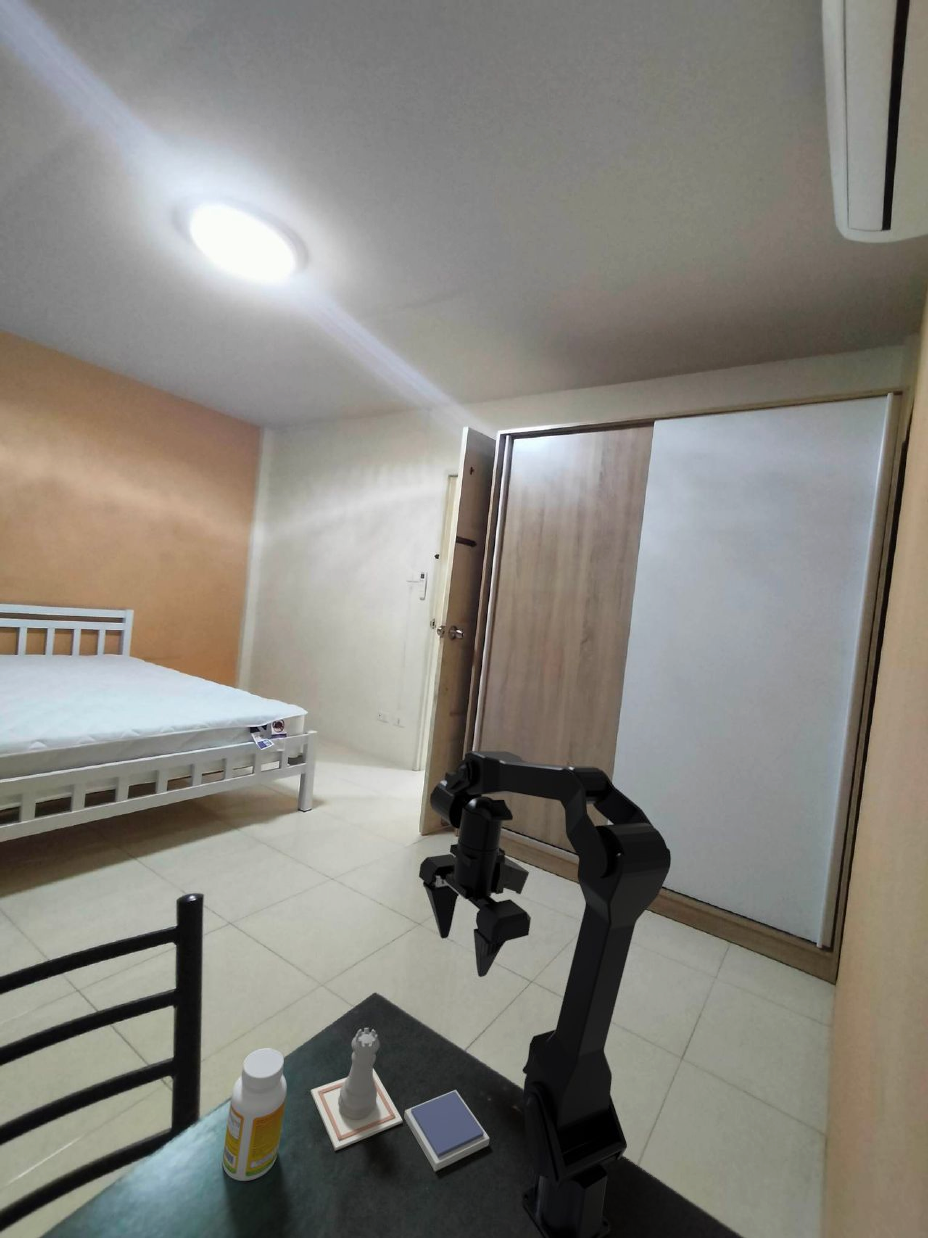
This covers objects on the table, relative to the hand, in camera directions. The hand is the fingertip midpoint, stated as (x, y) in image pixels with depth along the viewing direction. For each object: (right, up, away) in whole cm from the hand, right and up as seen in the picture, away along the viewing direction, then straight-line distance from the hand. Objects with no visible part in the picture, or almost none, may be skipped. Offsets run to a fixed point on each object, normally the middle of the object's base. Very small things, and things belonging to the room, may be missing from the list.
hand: (462, 955), depth 77 cm
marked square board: (-12, -10, -12) cm, 20 cm away
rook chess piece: (-12, -10, -12) cm, 20 cm away
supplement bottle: (-22, -9, -19) cm, 31 cm away
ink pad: (-2, -12, -13) cm, 18 cm away
